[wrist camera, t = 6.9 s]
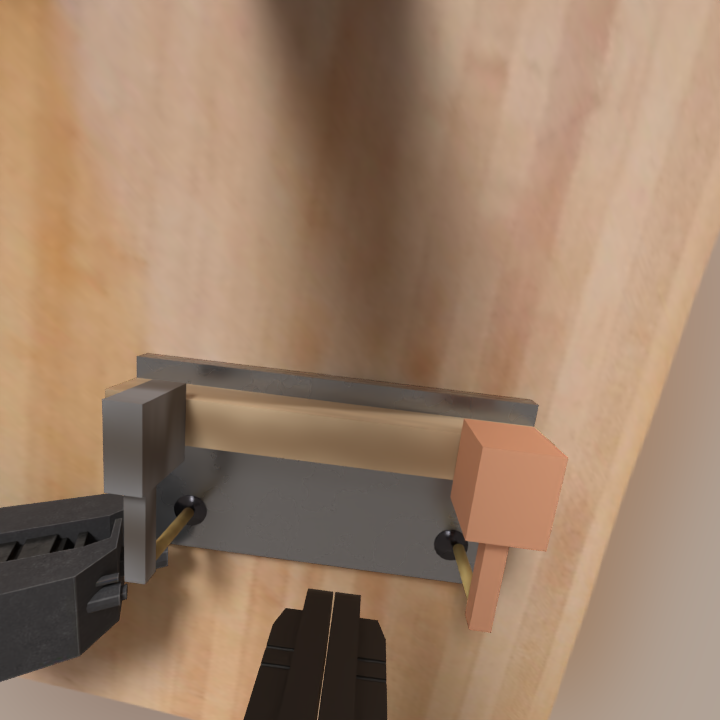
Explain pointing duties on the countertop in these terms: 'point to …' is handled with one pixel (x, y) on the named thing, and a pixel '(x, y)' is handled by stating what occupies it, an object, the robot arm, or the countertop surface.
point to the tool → (59, 579)
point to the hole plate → (320, 481)
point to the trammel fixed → (249, 444)
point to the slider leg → (501, 504)
